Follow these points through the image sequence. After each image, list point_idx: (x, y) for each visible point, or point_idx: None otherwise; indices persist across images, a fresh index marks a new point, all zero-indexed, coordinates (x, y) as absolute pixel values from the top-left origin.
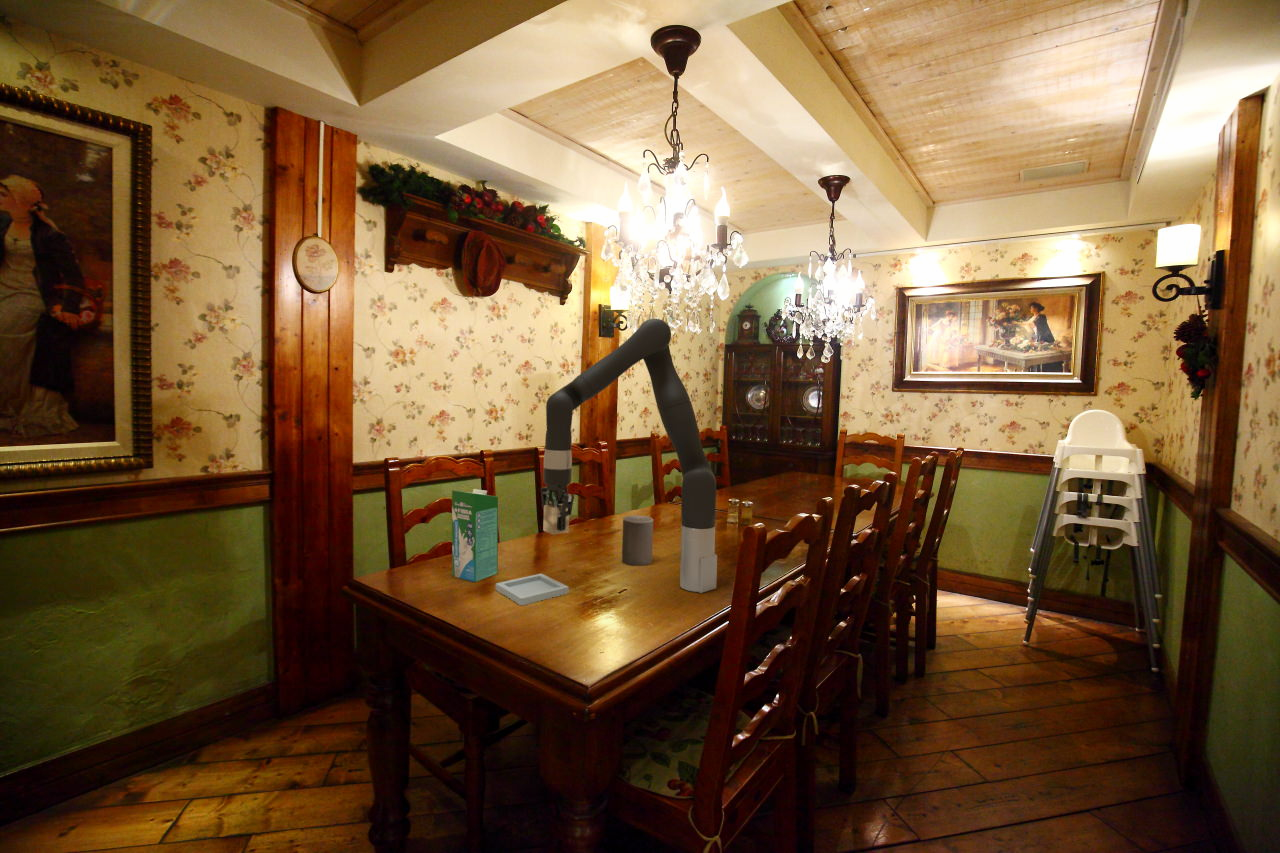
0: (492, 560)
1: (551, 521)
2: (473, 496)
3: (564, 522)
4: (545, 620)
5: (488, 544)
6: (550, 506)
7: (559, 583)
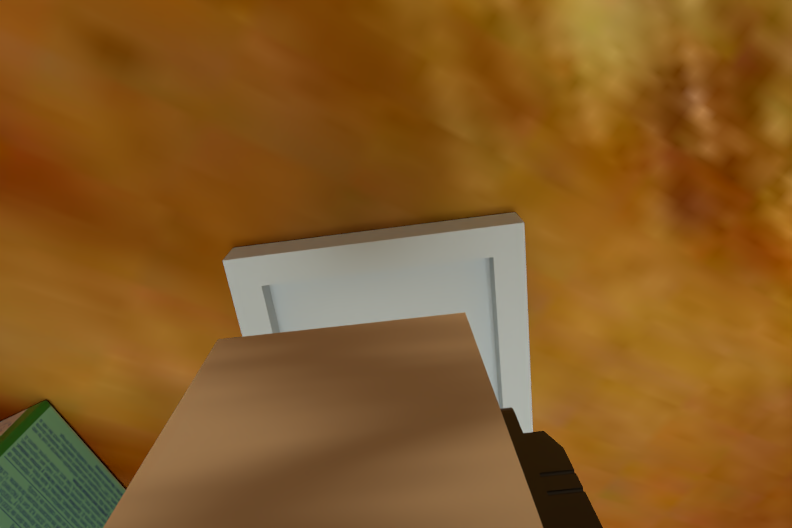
0: (22, 487)
1: None
2: None
3: (588, 518)
4: (724, 418)
5: None
6: None
7: (443, 242)
